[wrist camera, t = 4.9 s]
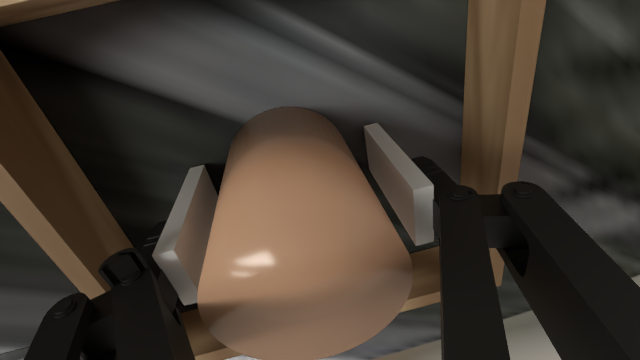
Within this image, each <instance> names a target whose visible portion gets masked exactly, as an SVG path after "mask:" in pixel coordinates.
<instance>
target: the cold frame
mask: <svg viewBox="0 0 640 360" xmlns="http://www.w3.org/2000/svg"><path fill="white" fill-rule="evenodd" d="M115 1H119V0H0V27H2V26H6V25H11V24H15V23H20V22H24V21H29V20H33V19H38V18H42V17H47V16H51V15H56V14H60V13H65V12H69V11H74V10H78V9H83V8H87V7H92V6H97V5H101V4H106V3H110V2H115ZM545 5H546V0H468V20H467V42H466V63H465V85H464V106H463V127H462V149H461V170H460V185H465V186H468V187H471V188H473V189H474V190H476V192H477V193H478V194H479V195H489V194H501V190H502V187H503V186H504V185H505V184H507V183H510V182H517V181H518V175H519V169H520V162H521V156H522V150H523V143H524V137H525V131H526V124H527V118H528V112H529V106H530V99H531V93H532V87H533V80H534V74H535V68H536V61H537V55H538V49H539V43H540V36H541V30H542V24H543V17H544V11H545ZM0 201H1V202H2V204H3V205H4V206H5V207H6V208H7V209H8V210H9V211H10V213H11V214H12V215H13V216H14V217H15V218H16V219H17V221H18V222H19V223H20V224H21V225H22V226H23V227H24V228H25V230H26V231H27V232H28V233H29V234H30V235H31V236H32V238H33V239H34V240H35V241H36V242H37V243H38V244H39V245H40V247H41V248H42V249H43V250H44V251H45V252H46V253H47V255H48V256H49V257H50V258H51V259H52V260H53V261H54V262H55V264H56V265H57V266H58V267H59V268H60V269H61V270H62V272H63V273H64V274H65V275H66V276H67V277H68V278H69V279H70V281H71V282H72V283H73V284H74V285H75V286H76V287H77V289H78V290H79V291H80V292H81V293H84V294H85V295H86V296H87V297H88V298H89V299H90V300H91V299H93V298H95V297H97V296H99V295H101V294H103V293H105V292H108V291H109V290H111V288H110V286H109V285H108V284H107V283H106V281H105V280H104V279H103V278H102V276H101V275H100V274H99V273H98V270H99V267H100V266H101V264H102V263H103V262H104V261H105V260H106V259H107V258H109V257H110V256H111V255H113V254H115V253H116V252H118V251H121V250H123V249H127V248H134V247H133V245H132V244H131V242H130V241H129V239H128V238H127V237H126V235H125V234H124V232H123V231H122V229H121V228H120V226H119V225H118V223H117V222H116V220H115V219H114V217H113V216H112V214H111V213H110V211H109V210H108V208H107V207H106V205H105V204H104V202H103V201H102V199H101V198H100V197H99V195H98V194H97V192H96V191H95V189H94V188H93V186H92V185H91V183H90V182H89V180H88V179H87V177H86V176H85V174H84V173H83V171H82V170H81V168H80V167H79V165H78V164H77V162H76V161H75V160H74V158H73V157H72V155H71V154H70V152H69V151H68V149H67V148H66V146H65V145H64V143H63V142H62V140H61V139H60V137H59V136H58V134H57V133H56V131H55V130H54V128H53V127H52V125H51V124H50V123H49V121H48V120H47V118H46V117H45V115H44V114H43V112H42V111H41V109H40V108H39V106H38V105H37V103H36V102H35V100H34V99H33V97H32V96H31V94H30V93H29V91H28V90H27V88H26V87H25V85H24V84H23V83H22V81H21V80H20V78H19V77H18V75H17V74H16V72H15V71H14V69H13V68H12V66H11V65H10V63H9V62H8V60H7V59H6V57H5V56H4V54H3V53H2V51H1V50H0ZM489 252H490V258H491V263H492V268H493V273H494V278H495V283H496V287H498V286H501V282H502V276H503V269H504V261H503V259H502V258H501V256H500V254H499V252H498V251H497V249H496V248H489ZM409 255H410V258H411V261H412V267H413V282H412V287H411V291H410V293H409V296H408V299H407V300H406V302H405V304H404V306H403V308H402V309H401V310H400V312H404V311H408V310H411V309H415V308H419V307H423V306H426V305H430V304H434V303H438V302H440V259H439V246H437V247H433V248H430V249H426V250H422V251H418V252H414V253H410V254H409ZM400 312H399V313H400ZM180 315H181V318H182V321H183V324H184V327H185V330H186V333H187V336H188V339H189V342H190V345H191V348H192V351H193V354H194V357H195V360H224V359H228V358H231V357H235V356H239V355H243V354H241V353H238V352H236V351H234V350H232V349H230V348H228V347H227V346H225V345H224V344H223V343H221V342H220V341H218V340H217V339H216V338H215V337H214V336H213V335H212V334H211V333H210V331H209V330H208V329H207V327H206V326H205V324H204V322H203V320H202V318H201V316H200V313H199V309H195V310H191V311H187V312H183V313H180Z"/></svg>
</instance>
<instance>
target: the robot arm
mask: <svg viewBox="0 0 640 360" xmlns="http://www.w3.org/2000/svg"><path fill="white" fill-rule="evenodd" d="M364 133H365V141H366V149H367V157H368V165H369V170H370V172H371V174H372V175H373V177H374V178H375V180H376V182H377V183H378V185H379V187H380V188H381V190H382V192H383V193H384V195H385V196H386V198H387V200H388V201H389V203H390V205H391V206H392V208H393V210H394V211H395V213H396V214H397V216H398V218H399V219H400V221H401V223H402V224H403V226H404V228H405V229H406V231H407V232H408V234H409V236H410V237H411V239H412V241H413V242H414V244H415V246H418V245H422V244H426V243H430V242H434V231H435V232H436V234H437V235H438V237H439V259H440V302H441V344H442V345H441V346H442V360H510V356H509V351H508V345H507V340H506V335H505V330H504V325H503V319H502V314H501V309H500V304H499V299H498V294H497V289H496V283H495V278H494V273H493V268H492V263H491V258H490V252H489V248H496V249H497V251H498V252H499V254H500V256H501V258H502V259H503V261H504V263H505V264H506V266H507V268H508V269H509V271H510V273H511V274H512V276H513V278H514V280H515V281H516V283H517V285H518V286H519V288H520V290H521V291H522V293H523V295H524V297H525V298H526V300H527V302H528V303H529V305H530V307H531V308H532V310H533V312H534V313H535V315H536V316H537V318H538V320H539V322H540V324H541V325H542V327H543V328H544V330H545V332H546V334H547V335H548V337H549V339H550V340H551V342H552V344H553V346H554V347H555V349H556V351H557V353H558V354H559V356H560V358H561V359H562V360H640V287H639V286H638V285H637V284H636V283H635V282H634V281H633V280H632V279H631V278H630V277H629V276H628V275H627V274H626V273H625V272H624V271H623V270H622V269H621V268H620V267H619V266H618V265H617V264H616V263H615V262H614V261H613V260H612V259H611V258H610V257H609V256H608V255H607V254H606V253H605V252H604V251H603V250H602V249H601V248H600V247H599V246H598V244H597V243H596V242H595V241H594V240H593V239H592V238H591V237H590V236H589V235H588V234H587V233H586V232H585V231H584V230H583V229H582V228H581V227H580V226H579V225H578V224H577V223H576V222H575V221H574V220H573V219H572V218H571V217H570V216H569V215H568V214H567V213H566V212H565V211H564V210H563V209H562V208H561V207H560V206H559V205H558V204H557V203H556V202H555V201H554V200H553V199H552V198H551V197H550V196H549V195H548V194H547V193H546V192H545V191H544V190H543V189H542V188H541V187H539V186H538V185H535V184H533V183H529V182H523V181H517V182H510V183H507V184H505V185H504V186H503V187H502V190H501V194H489V195H479V194H478V193H477V192H476V190H474V189H473V188H471V187H468V186H465V185H457V184H456V183H455V182H454V181H453V180H452V179H451V178H450V177H449V176H448V175H447V174H446V173H445V172H444V171H442V170H441V169H440V168H439V167H438V166H437V165H436V164H435V163H434V162H433V161H432V160H430V159H428V158H426V157H423V156H421V157H417V158H413V159H410V158H409V157H408V156H407V155H406V154H405V153H404V152H403V150H402V149H401V148H400V147H399V146H398V145H397V144H396V143H395V142H394V141H393V139H392V138H391V137H390V136H389V135H388V134H387V133H386V132H385V131H384V130H383V128H382V127H381V126H380V125H379V124H378V123H374V124H370V125H366V126H364ZM217 201H218V195H217V193H216V190H215V188H214V186H213V184H212V181H211V179H210V177H209V175H208V172H207V170H206V168H205V165H201V166H197V167H193V168H190V169H189V171H188V174H187V176H186V178H185V181H184V183H183V185H182V188H181V190H180V192H179V194H178V197H177V199H176V201H175V204H174V206H173V208H172V211H171V213H170V215H169V217H168V220H166V221H162V222H159V223H158V224H157V225H156V226H155V227H154V228H153V229H152V230H151V231H150V234H149V236H148V238H147V240H146V242H145V244H144V247H143V248H142V250H141V252H140V253H139V251H138V250H137V249H135V248H127V249H123V250H121V251H118V252H116V253H115V254H113V255H111V256H110V257H109V258H107V259H106V260H105V261H104V262H103V263H102V264H101V266H100V267H99V270H98V273H99V274H100V275H101V276H102V278H103V279H104V280H105V281H106V283H107V284H108V285H109V286H110V288H111V290H109V291H108V292H105V293H103V294H101V295H99V296H97V297H95V298H93V299H91V300H90V299H89V298H88V297H87V296H86V295H85V294H84V293H76V294H72V295H70V296H68V297H65V298H63V299H62V300H60V301H58V302H57V303H56V304H55V305H54V306H53V307H52V308H51V309H50V310H49V311H48V312H47V313H46V315H45V316H44V318H43V320H42V322H41V324H40V326H39V329H38V331H37V333H36V335H35V337H34V339H33V341H32V343H31V345H30V347H29V349H28V352H27V354H26V356H25V358H24V360H195V357H194V354H193V351H192V348H191V345H190V342H189V339H188V336H187V333H186V330H185V327H184V324H183V321H182V318H181V315H180V312H179V311H178V309H177V308H176V306H175V305H176V302H177V298H178V297H179V298H180V300H181V301H182V303H183V305H184V306H185V305H189V304H193V303H197V293H198V286H199V281H200V277H201V272H202V268H203V263H204V259H205V254H206V250H207V245H208V241H209V236H210V232H211V227H212V223H213V219H214V214H215V210H216V205H217Z"/></svg>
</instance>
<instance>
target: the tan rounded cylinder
mask: <svg viewBox="0 0 640 360" xmlns="http://www.w3.org/2000/svg"><path fill="white" fill-rule="evenodd" d="M412 282H413V267H412V261H411V258H410V255H409V252H408V251H407V249H406V247H405V245H404V244H403V242H402V240H401V238H400V237H399V235H398V233H397V231H396V230H395V228H394V226H393V224H392V223H391V221H390V219H389V217H388V216H387V214H386V212H385V210H384V209H383V207H382V205H381V203H380V202H379V200H378V198H377V196H376V195H375V193H374V191H373V189H372V188H371V186H370V184H369V182H368V181H367V179H366V177H365V175H364V174H363V172H362V170H361V169H360V167H359V165H358V163H357V162H356V160H355V158H354V156H353V155H352V153H351V151H350V149H349V148H348V146H347V144H346V142H345V141H344V139H343V137H342V135H341V134H340V132H339V131H338V129H337V128H336V127H335V126H334V125H333V124H332V123H331V122H330V121H329V120H328V119H326V118H325V117H324V116H322V115H320V114H318V113H316V112H314V111H311V110H308V109H304V108H300V107H280V108H274V109H270V110H267V111H264V112H262V113H260V114H258V115H256V116H255V117H253V118H251V119H250V120H249V121H248V122H246V123H245V124H244V125H243V126H242V127H241V128H240V129H239V131H238V132H237V134H236V135H235V137H234V138H233V140H232V143H231V145H230V148H229V151H228V156H227V160H226V165H225V169H224V174H223V178H222V183H221V187H220V192H219V196H218V201H217V205H216V210H215V214H214V219H213V223H212V227H211V232H210V236H209V241H208V245H207V250H206V254H205V259H204V263H203V268H202V272H201V277H200V281H199V286H198V293H197V302H198V309H199V313H200V316H201V318H202V320H203V322H204V324H205V326H206V327H207V329H208V330H209V331H210V333H211V334H212V335H213V336H214V337H215V338H216V339H217V340H218V341H220V342H221V343H223V344H224V345H225V346H227V347H228V348H230V349H232V350H234V351H236V352H238V353H241V354H243V355H246V356H249V357H253V358H256V359H261V360H317V359H321V358H326V357H330V356H333V355H336V354H339V353H342V352H345V351H347V350H350V349H352V348H354V347H356V346H358V345H360V344H362V343H364V342H366V341H367V340H369V339H371V338H372V337H374V336H375V335H376V334H378V333H379V332H380V331H382V330H383V329H384V328H385V327H386V326H387V325H388V324H390V322H391V321H392V320H393V319H394V318H395V317H396V316H397V315H398V313H399V312H400V310H401V309H402V308H403V306H404V304H405V302H406V300H407V299H408V296H409V293H410V291H411V287H412Z"/></svg>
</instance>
